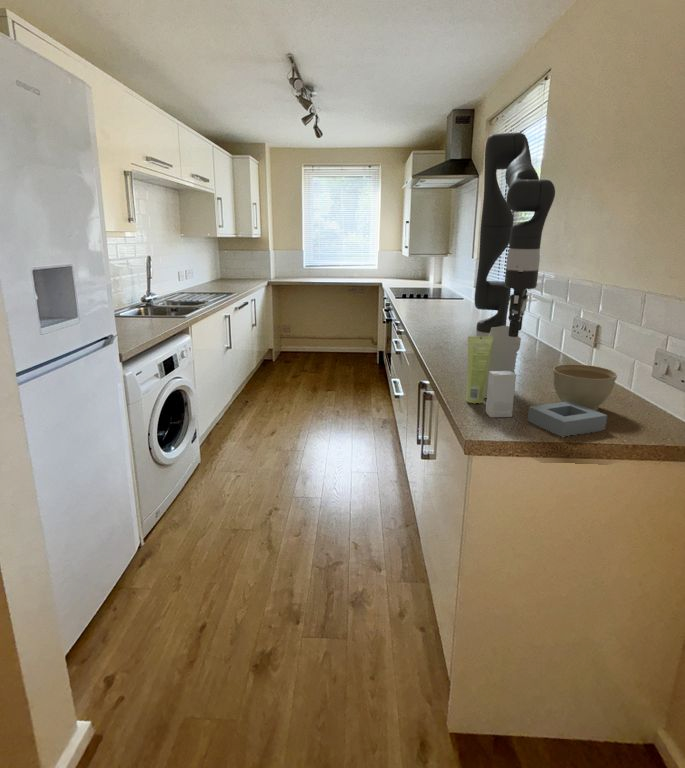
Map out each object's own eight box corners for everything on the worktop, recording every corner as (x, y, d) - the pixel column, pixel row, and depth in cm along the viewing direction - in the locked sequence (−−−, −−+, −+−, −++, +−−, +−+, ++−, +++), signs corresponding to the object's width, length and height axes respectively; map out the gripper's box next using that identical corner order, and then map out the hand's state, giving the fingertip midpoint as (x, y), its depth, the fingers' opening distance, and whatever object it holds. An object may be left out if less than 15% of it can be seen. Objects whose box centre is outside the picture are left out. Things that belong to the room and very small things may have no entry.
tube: (471, 397, 148) (477, 333, 143) (487, 401, 145) (493, 336, 139) (462, 401, 144) (467, 336, 139) (478, 405, 141) (484, 338, 135)
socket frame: (527, 421, 129) (529, 406, 128) (568, 414, 134) (570, 401, 133) (562, 437, 118) (564, 422, 117) (604, 430, 123) (607, 415, 122)
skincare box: (505, 412, 136) (510, 369, 132) (512, 417, 131) (517, 374, 128) (484, 412, 135) (488, 370, 132) (490, 418, 131) (494, 374, 127)
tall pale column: (511, 395, 150) (519, 324, 144) (516, 399, 146) (525, 326, 140) (477, 395, 150) (484, 324, 143) (481, 400, 146) (488, 326, 140)
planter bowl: (548, 396, 150) (552, 361, 147) (606, 402, 145) (613, 367, 141) (548, 412, 136) (553, 374, 133) (614, 420, 130) (621, 381, 127)
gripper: (509, 265, 127) (503, 327, 132) (502, 269, 114) (495, 337, 119) (540, 266, 124) (532, 329, 129) (536, 270, 112) (528, 340, 116)
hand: (514, 333), depth 124 cm, fingers open, 8 cm apart
